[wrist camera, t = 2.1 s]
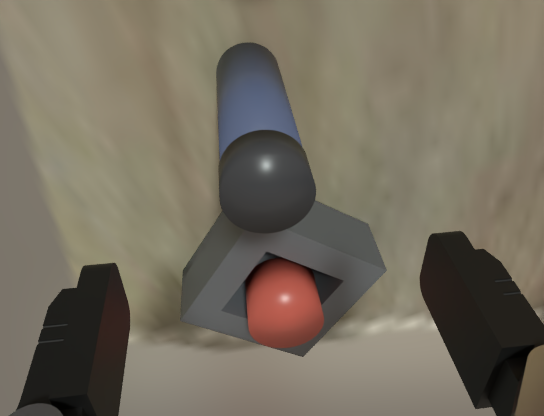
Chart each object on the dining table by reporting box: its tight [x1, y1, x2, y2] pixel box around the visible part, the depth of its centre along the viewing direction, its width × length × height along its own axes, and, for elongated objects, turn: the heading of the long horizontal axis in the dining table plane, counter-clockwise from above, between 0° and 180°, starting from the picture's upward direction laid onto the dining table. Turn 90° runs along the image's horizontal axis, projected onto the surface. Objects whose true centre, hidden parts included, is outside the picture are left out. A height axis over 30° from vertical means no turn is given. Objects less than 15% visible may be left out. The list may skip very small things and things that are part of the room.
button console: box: [180, 201, 387, 357], centre depth 29 cm, size 8×8×4 cm
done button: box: [245, 257, 324, 348], centre depth 27 cm, size 4×4×3 cm
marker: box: [216, 43, 316, 233], centre depth 20 cm, size 3×3×10 cm
